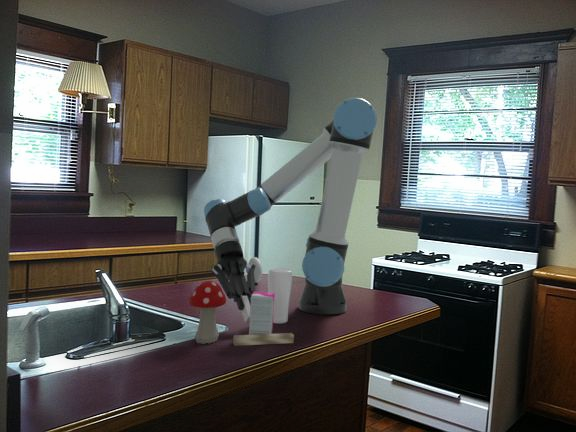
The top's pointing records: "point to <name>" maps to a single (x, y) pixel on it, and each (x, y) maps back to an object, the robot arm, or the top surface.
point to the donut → (256, 268)
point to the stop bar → (263, 339)
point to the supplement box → (261, 313)
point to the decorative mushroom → (207, 310)
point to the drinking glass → (280, 292)
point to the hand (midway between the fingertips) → (249, 319)
